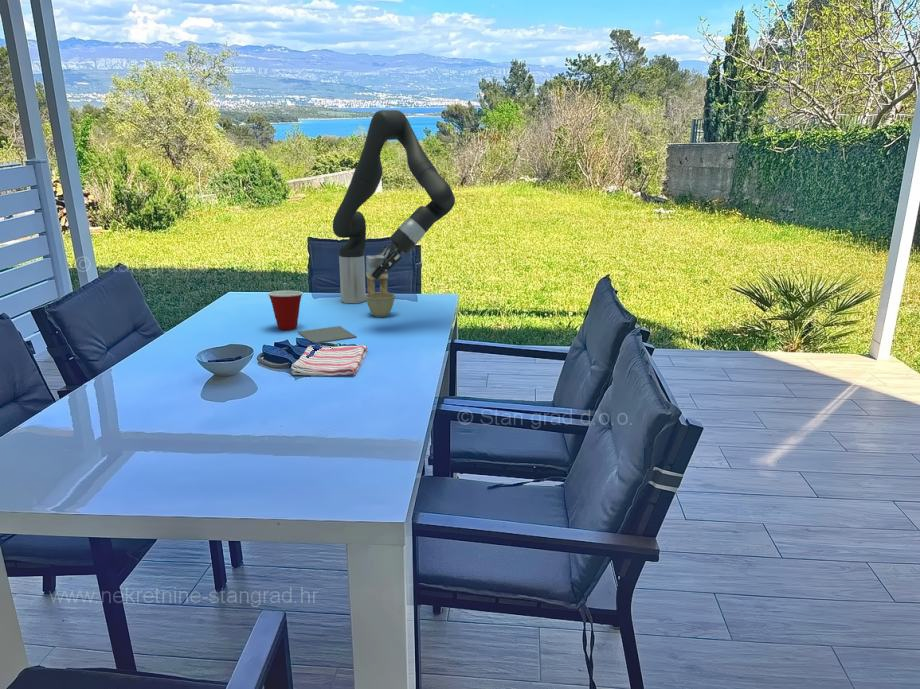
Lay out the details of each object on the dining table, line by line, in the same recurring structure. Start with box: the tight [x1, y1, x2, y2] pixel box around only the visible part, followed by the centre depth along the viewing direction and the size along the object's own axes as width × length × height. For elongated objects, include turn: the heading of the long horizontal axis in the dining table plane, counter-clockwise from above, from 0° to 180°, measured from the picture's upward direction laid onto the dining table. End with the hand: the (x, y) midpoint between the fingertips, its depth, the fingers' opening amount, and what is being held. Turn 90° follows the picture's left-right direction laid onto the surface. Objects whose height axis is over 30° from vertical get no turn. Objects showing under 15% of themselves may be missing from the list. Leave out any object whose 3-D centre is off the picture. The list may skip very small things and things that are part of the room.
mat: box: [297, 325, 357, 344], centre depth 208 cm, size 14×14×1 cm
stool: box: [365, 254, 389, 297], centre depth 210 cm, size 6×6×12 cm
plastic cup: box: [267, 290, 304, 331], centre depth 214 cm, size 11×11×12 cm
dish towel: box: [290, 345, 368, 377], centre depth 182 cm, size 17×23×4 cm
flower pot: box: [365, 291, 396, 318], centre depth 231 cm, size 10×10×7 cm
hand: (371, 275), depth 210 cm, fingers closed on stool, 5 cm apart
